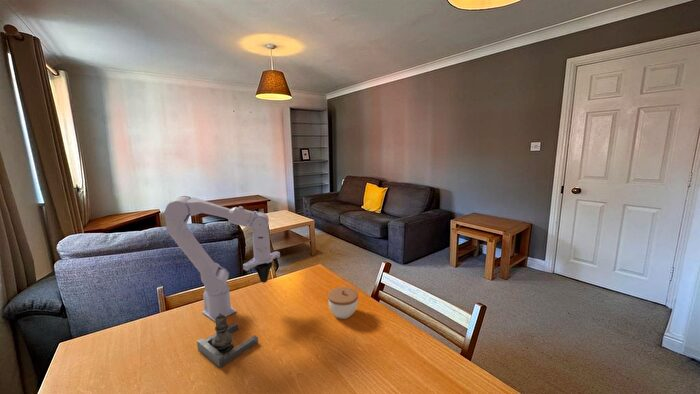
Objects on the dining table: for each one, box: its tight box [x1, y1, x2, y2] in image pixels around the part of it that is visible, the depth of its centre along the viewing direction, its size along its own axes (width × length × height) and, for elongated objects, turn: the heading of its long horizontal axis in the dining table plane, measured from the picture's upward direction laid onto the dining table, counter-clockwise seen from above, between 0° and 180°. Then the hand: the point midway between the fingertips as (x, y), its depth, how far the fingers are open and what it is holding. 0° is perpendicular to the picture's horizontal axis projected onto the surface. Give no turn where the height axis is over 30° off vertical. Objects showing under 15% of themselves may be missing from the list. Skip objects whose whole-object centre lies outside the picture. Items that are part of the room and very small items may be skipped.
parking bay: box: [196, 322, 259, 369], centre depth 86 cm, size 12×12×3 cm
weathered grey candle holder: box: [212, 313, 234, 355], centre depth 84 cm, size 6×6×12 cm
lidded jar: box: [327, 286, 359, 320], centre depth 102 cm, size 11×11×9 cm
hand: (263, 281), depth 105 cm, fingers closed
